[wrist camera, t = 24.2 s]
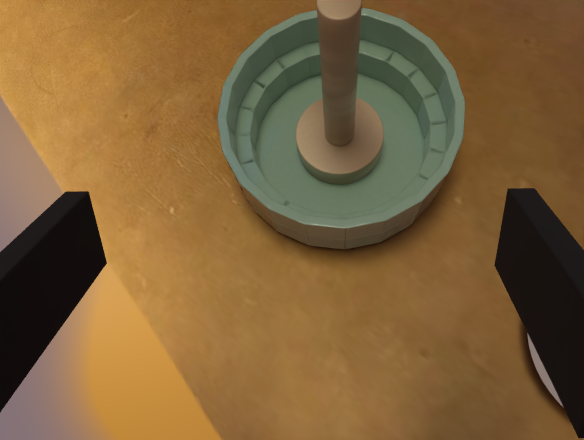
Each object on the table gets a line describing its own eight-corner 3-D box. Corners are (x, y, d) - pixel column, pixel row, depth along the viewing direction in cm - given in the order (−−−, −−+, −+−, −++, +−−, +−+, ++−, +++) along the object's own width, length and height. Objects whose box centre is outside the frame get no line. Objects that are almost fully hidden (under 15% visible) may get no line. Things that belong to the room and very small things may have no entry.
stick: (323, 199, 36) (313, 83, 21) (283, 132, 38) (248, -17, 23) (397, 159, 36) (436, 18, 22) (354, 94, 38) (363, -76, 24)
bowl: (297, 290, 35) (289, 274, 29) (203, 118, 39) (179, 74, 34) (488, 184, 36) (516, 148, 30) (374, 28, 40) (380, -30, 35)
